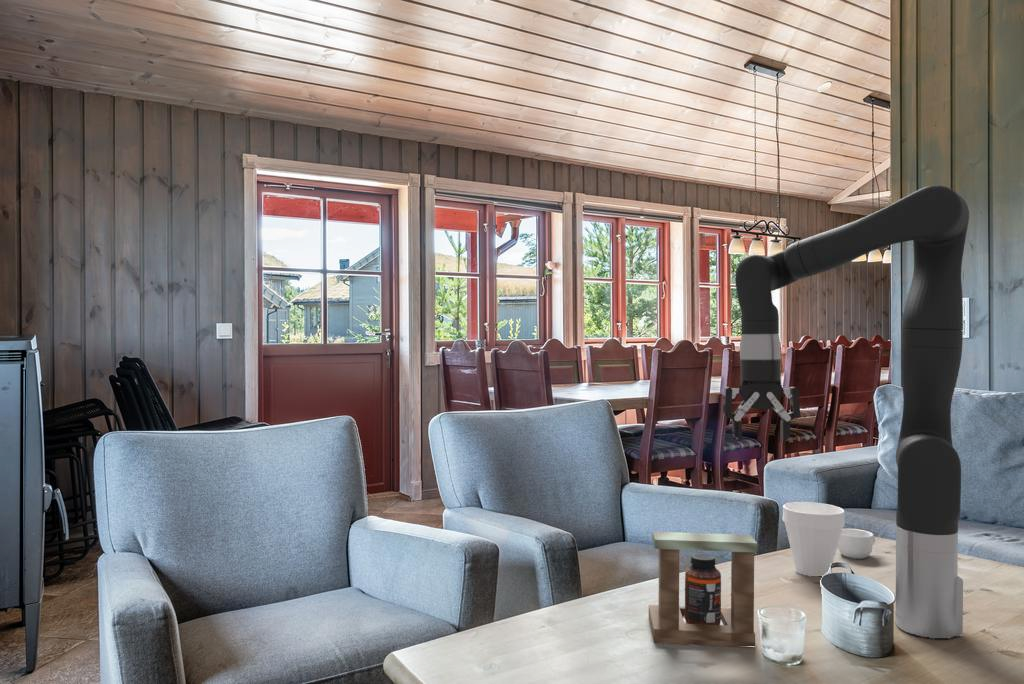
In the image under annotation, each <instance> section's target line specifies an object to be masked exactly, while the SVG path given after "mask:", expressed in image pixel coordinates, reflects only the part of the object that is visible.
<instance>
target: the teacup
mask: <svg viewBox="0 0 1024 684" xmlns="http://www.w3.org/2000/svg"><path fill="white" fill-rule="evenodd" d="M875 542H876V538H875V536H874V534H873V533H872V532H871V531H868V530H863V529H858V528H842V531H841V534H840V538H839V542H838V546H837V549H838V551H839V552H840V554H841V555H843V556H844V557H846V558H849V559H853V560H856V559H857V560H863V559H866V558H867V557H869V556H871V553H872V552H873V551H872V550H873V547H874V544H875Z"/></svg>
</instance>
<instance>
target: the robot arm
mask: <svg viewBox="0 0 1024 684" xmlns="http://www.w3.org/2000/svg"><path fill="white" fill-rule="evenodd" d="M969 220H970V210H969V207H968V204H967V203H966V201H965V199H964V198H963V197H962V196H961V195H959V194H958V193H957V192H956V191H955V190H954V189H952V188H950V187H948V186H943V185H939V184H938V185H936V184H935V185H927V186H925V187H922V188H920V189H917V190H916V191H914V192H912V193H910V194H908V195H906V196H904V197H902V198H901V199H898V200H897V201H895V202H893V203H891V204H889V205H888V206H886V207H884V208H881V209H880V210H877V211H875V212H872V213H870V214H868V215H866V216H864V217H861V218H859V219H857V220H854V221H851V222H848V223H846V224H843V225H840V226H838V227H835V228H832V229H829V230H827V231H824V232H820V233H817V234H814V235H812V236H809V237H806V238H804V239H801V240H800V239H799V240H798V241H795V242H793V243H791V244H789V245H788V246H787V247H786V248H785V249H784V250H781V251H780V252H777V253H774V254H770V255H767V256H764V255H759V254H749V255H746V256H745V257H743V258H742V259H741V260H740V261H739V263H738V265H737V267H736V270H735V278H734V280H735V282H734V283H735V289H736V293H737V300H738V303H739V308H740V312H741V317H740V318H741V321H740V327H741V329H740V331H741V332H740V333H741V335H740V336H741V337H740V347H739V348H740V349H739V358H740V362H739V363H740V366H739V367H740V385H739V387H737V388H736V387H729V386H725V387H724V388H723V402H722V403H723V404H722V416H723V417H724V418H727V419H730V420H731V421H732V436H733V437H734V438H735V439H736V441H742V431H743V429H742V421H741V420H742V418H743V417H744V415H745V414H746V413H747V412H748V411H749V410H750V409H752V410H761V409H763V410H771V409H773V410H774V412H776V414H778V416H779V417H780V419H781V420H780V421H779V423H780V425H779V428H780V432H779V433H780V441H783V442H786V441H788V438H790V436H791V422H792V421H793V420H794V419H799V418H800V417H801V406H800V391H799V388H798V387H796V386H790V387H783V386H782V370H781V369H782V364H781V363H782V362H781V361H782V358H781V356H782V355H781V354H782V352H781V341H780V334H779V333H780V316H779V309H778V307H777V306H776V305H775V304H774V302H773V295H772V292H773V291H776V290H779V289H781V288H784V287H786V286H788V285H790V284H793V283H795V282H797V281H799V280H802V279H804V278H808V277H811V276H812V277H813V276H815V275H818V274H822V273H824V272H828V271H830V270H834V269H836V268H839V267H841V266H844V265H846V264H848V263H851V262H852V261H854V260H856V259H858V258H860V257H862V256H864V255H866V254H869V253H871V252H873V251H876V250H879V249H882V248H885V247H888V246H890V245H896V244H900V243H904V242H906V243H907V242H911V241H912V244H913V245H912V246H913V274H912V279H911V283H910V286H909V289H908V290H909V291H908V293H907V298H906V301H905V303H904V309H903V313H902V319H901V326H900V328H901V331H900V332H901V333H900V369H901V370H900V372H901V374H900V375H901V384H902V385H901V387H902V396H903V397H902V399H903V403H902V405H903V406H902V416H901V422H900V431H899V437H898V442H897V446H896V452H895V462H896V465H897V499H896V500H897V502H896V513H895V518H896V519H895V524H896V525H895V531H896V532H895V610H894V612H895V613H894V614H895V626H896V627H898V629H900V630H902V631H904V632H906V633H908V634H911V635H914V634H915V636H919V637H922V638H923V637H924V638H927V637H929V638H928V639H935V638H948V639H950V638H949V637H953V636H956V637H960V636H959V635H963V633H964V580H963V578H962V577H961V576H959V575H958V574H959V573H958V570H959V568H958V567H959V566H958V564H959V563H958V562H959V560H958V559H959V558H958V557H959V553H958V551H959V549H958V546H959V540H958V539H959V520H960V516H961V495H962V467H961V466H962V463H961V458H960V456H959V454H958V452H957V450H956V449H955V448H954V446H953V439H952V420H951V418H952V417H951V414H952V412H951V411H952V402H953V397H954V393H955V390H956V389H955V388H956V385H957V381H958V377H959V373H960V368H961V361H962V356H963V355H962V353H963V339H964V338H963V336H964V335H963V333H964V312H963V311H964V308H963V307H964V306H963V305H964V304H963V303H964V302H963V301H964V299H963V297H964V296H963V283H962V266H963V259H964V257H963V256H964V251H965V244H966V237H967V232H968V226H969ZM737 394H738V395H739V397H740V398H741V399H742V401H741V402H740V404H739V405H738V407H737V409H736V410H735V411H734V412H732V403H733V400H734V399H735V398H736V396H737ZM784 394H785V397H786V399H789V406H790V407H789V408H790V411H789V412H787V411H786V409H785V408H784V406H783V404H781V402H780V401H779V400H780V399H781V398H782V396H783V395H784ZM963 636H964V635H963ZM953 638H954V637H953Z"/></svg>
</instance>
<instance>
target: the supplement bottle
mask: <svg viewBox="0 0 1024 684" xmlns="http://www.w3.org/2000/svg"><path fill="white" fill-rule="evenodd" d="M690 564H691V565H690V566H688V567H687V568H686V569H685V572H684V573H685V574H684V606H685V620H686V622H687V623H689V624H705V625H719V624H720V622H721V608H722V574H721V571H720V570H719V569H718V568H717V567H716V557H715V556H714V555H712V554H706V553H693V554H691V557H690Z"/></svg>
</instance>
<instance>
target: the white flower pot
mask: <svg viewBox="0 0 1024 684" xmlns="http://www.w3.org/2000/svg"><path fill="white" fill-rule="evenodd" d="M782 521H783V522H784V525H785V530H786V535H787V538H788V543H789V546H790V547H789V548H790V551H791V555H792V561H793V563H794V570H795V572H796V573H798V574H800V575H802V574H803V575H802V576H806V575H808V576H807V577H811V576H822V575H824V574H825V573H826V572H828V570H829V567H830V564H831V563H833V564H834V561H835V556H836V554H837V549H838V542H839V538H840V534H841V531H842V529H843V528H844V527H845V510H844V509H843V508H842V507H839V506H836V505H833V504H827V503H823V502H822V503H821V502H814V501H813V502H812V501H795V502H787V503H784V504H783V505H782Z"/></svg>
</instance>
